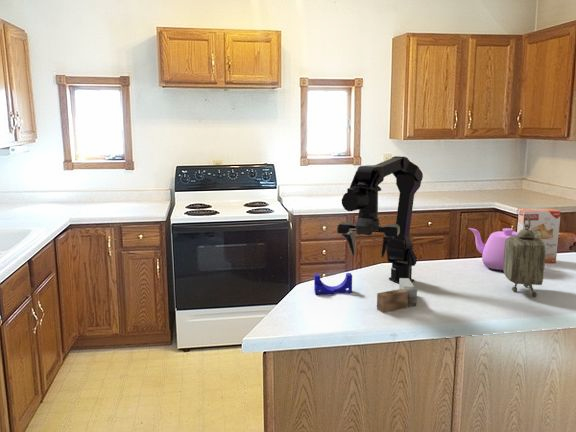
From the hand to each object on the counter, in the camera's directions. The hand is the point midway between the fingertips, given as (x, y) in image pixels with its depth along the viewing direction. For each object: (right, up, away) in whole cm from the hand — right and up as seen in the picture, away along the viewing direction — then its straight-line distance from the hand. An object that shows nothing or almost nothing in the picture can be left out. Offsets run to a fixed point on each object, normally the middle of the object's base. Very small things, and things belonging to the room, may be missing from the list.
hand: (368, 255), depth 163 cm
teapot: (+57, -7, +34) cm, 67 cm away
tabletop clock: (+50, -12, +5) cm, 52 cm away
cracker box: (+73, -6, +42) cm, 84 cm away
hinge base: (+8, -15, -9) cm, 19 cm away
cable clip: (-10, -13, +6) cm, 18 cm away
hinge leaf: (+12, -13, -2) cm, 18 cm away
